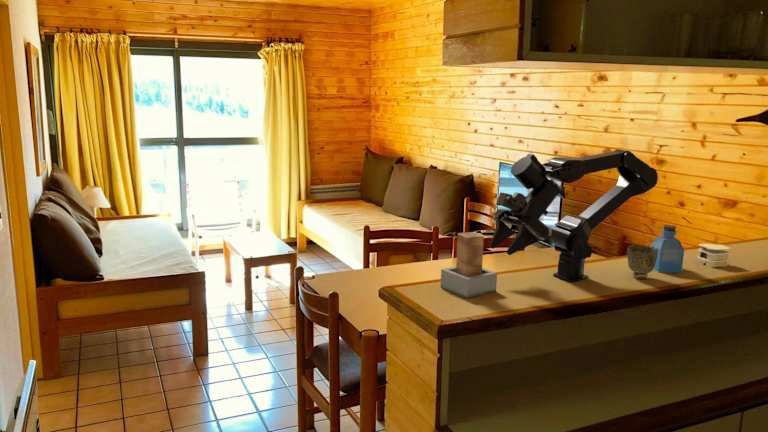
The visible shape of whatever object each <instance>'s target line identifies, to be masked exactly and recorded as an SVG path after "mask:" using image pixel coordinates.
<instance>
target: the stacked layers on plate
mask: <svg viewBox="0 0 768 432" xmlns="http://www.w3.org/2000/svg"><path fill="white" fill-rule="evenodd" d="M699 246H700V248H698V251H699V255H697V259H700V260H704V261H706V263H705V266H706V267H709V268H716V267H727V266H728V262H730V259H729V255H731V252H730V251H727V250H729V249H731V247H729V246H726V245H724V244H717V243H716V244H715V243H699Z"/></svg>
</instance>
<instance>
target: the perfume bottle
mask: <svg viewBox="0 0 768 432" xmlns="http://www.w3.org/2000/svg"><path fill="white" fill-rule="evenodd" d="M676 229H677V226H676V225H674V224H663V228H662V230H661V231H662V232H661V234H662V235H658V236H657V237H656V238H655V239H654V240H653V241H652V243H651V246H650V249H651V248H652V247H654V249H656V248H658V250H659V252H658V256H657V260H656V264H655V267H654V269H653V270H654V271H655V272H657V271H658V272H657V273H674V272H677V273H679V274H680V273H682V272H683V264H684V255H685V248H684V246H683V245H682V242H681V241H680V239H679V238H676V235H677V230H676Z"/></svg>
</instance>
